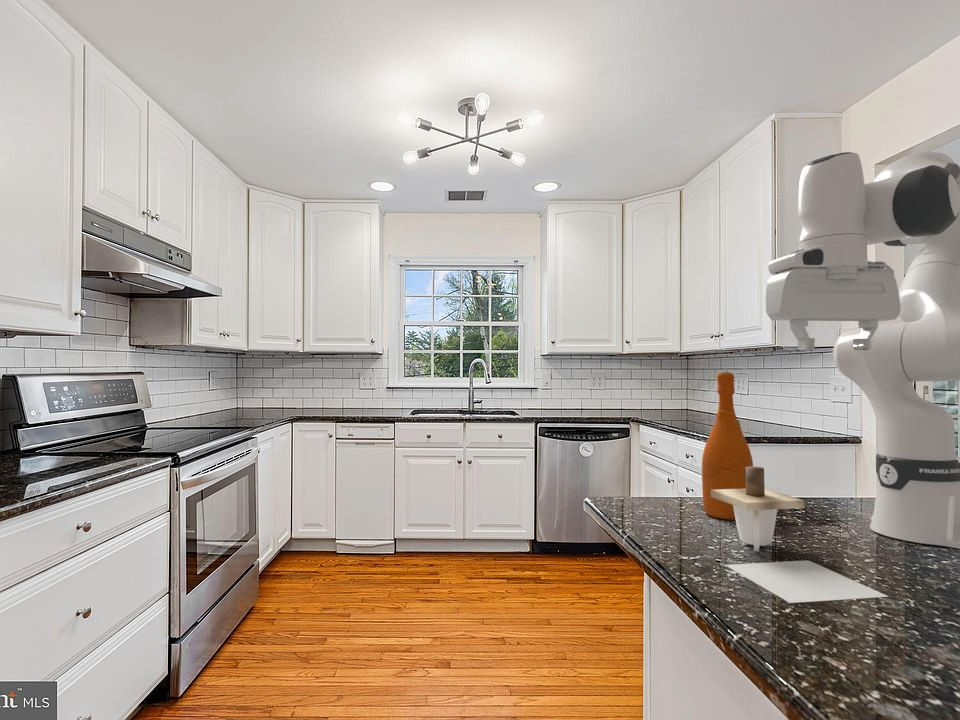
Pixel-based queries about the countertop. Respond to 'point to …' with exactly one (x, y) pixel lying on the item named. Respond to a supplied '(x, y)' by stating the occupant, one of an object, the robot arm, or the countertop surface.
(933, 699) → the countertop surface
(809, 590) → the mat
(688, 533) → the countertop surface
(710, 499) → the wine bottle
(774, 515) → the cup
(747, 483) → the lid
